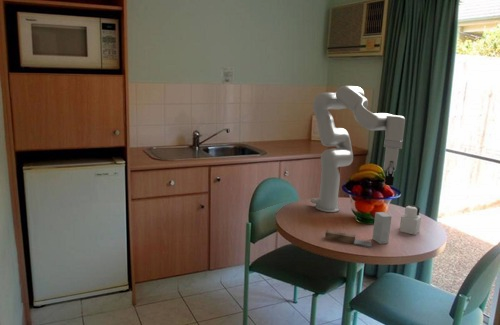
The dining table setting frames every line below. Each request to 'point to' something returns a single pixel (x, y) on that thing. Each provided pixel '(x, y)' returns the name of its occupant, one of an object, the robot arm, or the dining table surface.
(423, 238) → the dining table surface
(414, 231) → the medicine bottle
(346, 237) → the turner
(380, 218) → the skincare box
